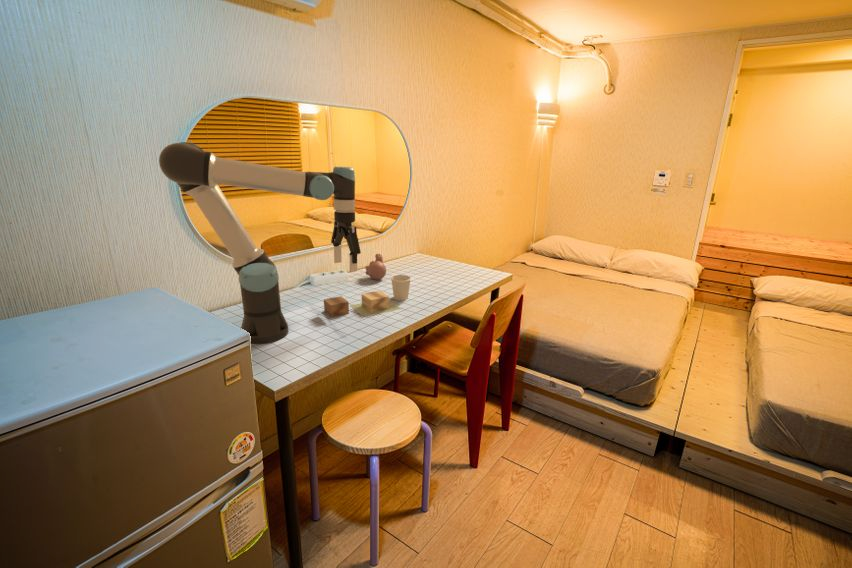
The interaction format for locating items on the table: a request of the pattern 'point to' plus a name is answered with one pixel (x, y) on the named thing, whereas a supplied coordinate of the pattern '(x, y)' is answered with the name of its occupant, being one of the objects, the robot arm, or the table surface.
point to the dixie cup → (400, 286)
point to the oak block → (375, 301)
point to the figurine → (376, 268)
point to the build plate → (365, 312)
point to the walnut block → (336, 306)
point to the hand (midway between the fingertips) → (345, 266)
